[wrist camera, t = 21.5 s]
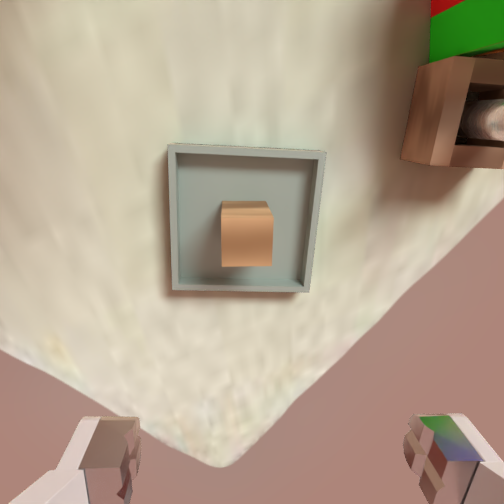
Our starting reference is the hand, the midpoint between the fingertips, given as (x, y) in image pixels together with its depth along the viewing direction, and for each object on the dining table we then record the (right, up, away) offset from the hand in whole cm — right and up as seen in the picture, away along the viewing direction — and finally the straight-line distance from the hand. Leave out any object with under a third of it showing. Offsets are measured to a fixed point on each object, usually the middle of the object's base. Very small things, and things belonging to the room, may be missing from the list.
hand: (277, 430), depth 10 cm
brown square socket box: (+17, +17, +20) cm, 32 cm away
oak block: (-2, +8, +22) cm, 24 cm away
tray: (-2, +8, +23) cm, 24 cm away
